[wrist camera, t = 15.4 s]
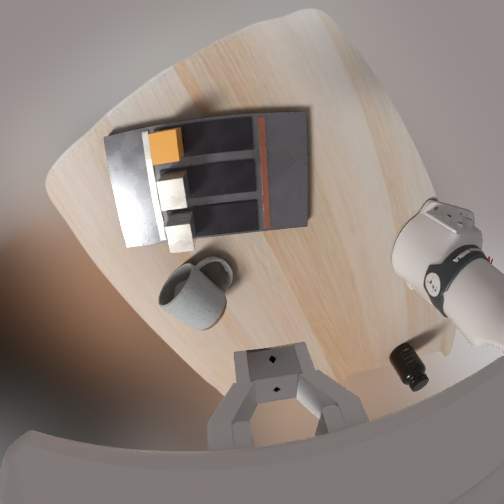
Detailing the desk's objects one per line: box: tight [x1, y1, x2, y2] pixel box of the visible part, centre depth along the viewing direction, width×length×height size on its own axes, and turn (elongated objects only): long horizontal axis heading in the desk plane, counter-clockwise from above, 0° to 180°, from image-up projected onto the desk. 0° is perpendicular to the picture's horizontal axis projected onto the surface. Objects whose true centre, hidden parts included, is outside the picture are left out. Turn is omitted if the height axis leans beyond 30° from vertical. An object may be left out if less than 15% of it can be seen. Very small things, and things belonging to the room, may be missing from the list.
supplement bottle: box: [390, 344, 429, 392], centre depth 56 cm, size 7×7×12 cm
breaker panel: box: [104, 112, 308, 253], centre depth 33 cm, size 26×16×6 cm, turn 94°
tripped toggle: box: [148, 127, 184, 165], centre depth 29 cm, size 3×4×4 cm
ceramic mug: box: [159, 256, 233, 330], centre depth 40 cm, size 11×8×8 cm
